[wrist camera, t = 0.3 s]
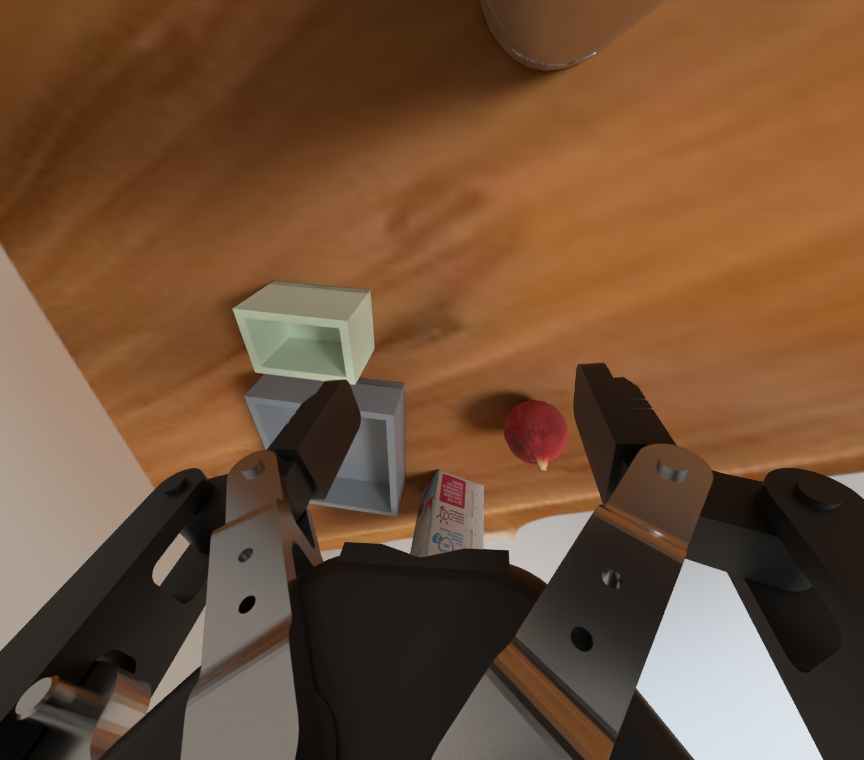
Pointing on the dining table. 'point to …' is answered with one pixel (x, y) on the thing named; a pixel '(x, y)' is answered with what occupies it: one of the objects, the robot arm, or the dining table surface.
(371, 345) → the small crate
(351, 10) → the dining table surface
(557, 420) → the onion
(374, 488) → the big crate
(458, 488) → the milk carton
